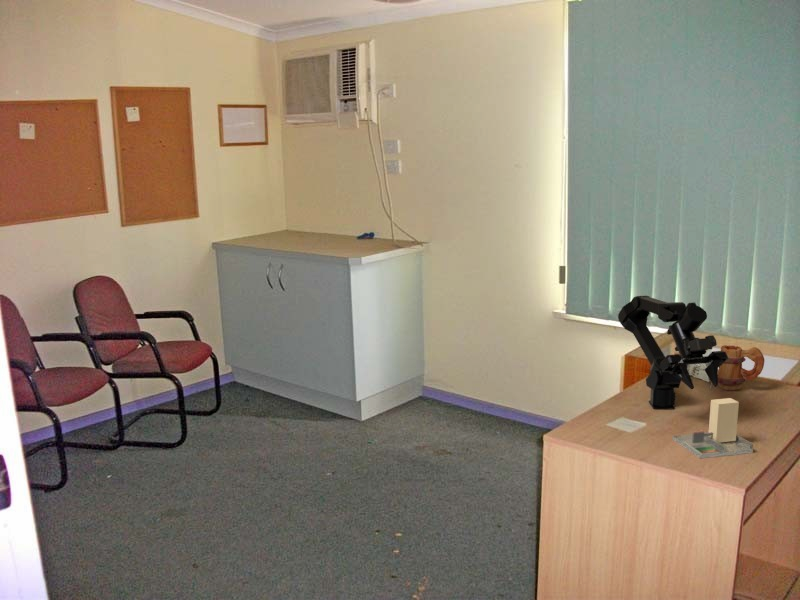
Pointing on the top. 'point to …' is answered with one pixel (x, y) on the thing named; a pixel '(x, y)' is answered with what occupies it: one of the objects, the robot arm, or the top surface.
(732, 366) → the mug
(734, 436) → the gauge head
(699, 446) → the gauge frame
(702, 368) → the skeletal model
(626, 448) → the top surface
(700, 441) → the drag pointer
